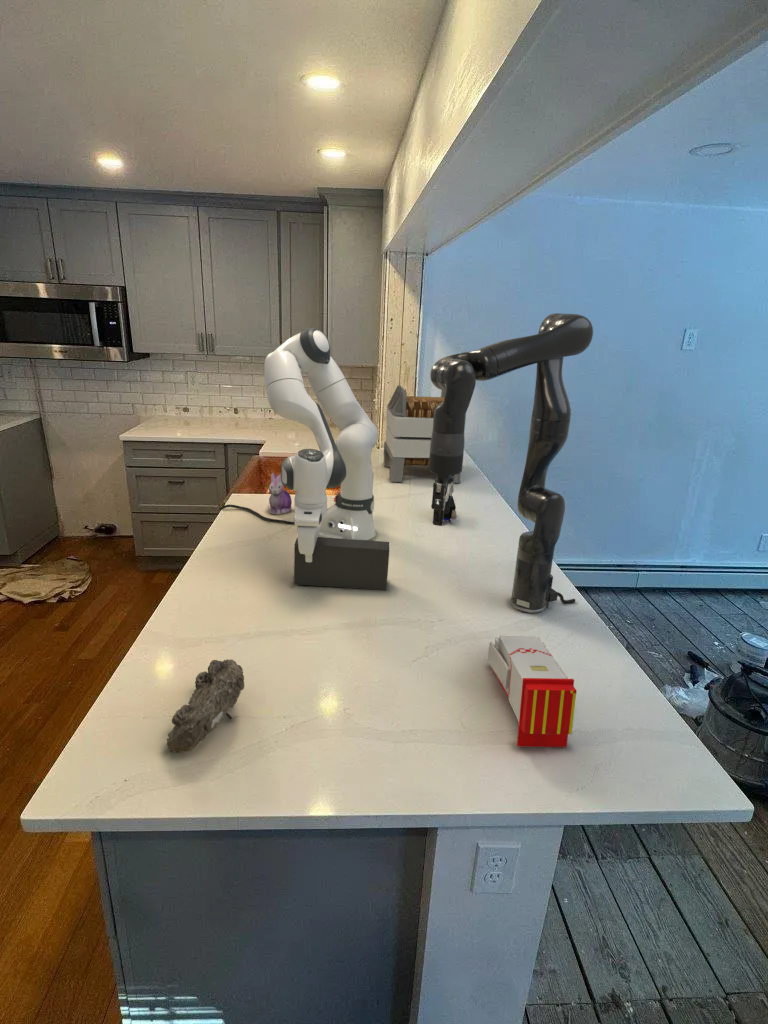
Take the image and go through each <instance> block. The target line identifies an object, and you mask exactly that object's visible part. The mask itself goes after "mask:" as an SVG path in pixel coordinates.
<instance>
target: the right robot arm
mask: <svg viewBox="0 0 768 1024" xmlns="http://www.w3.org/2000/svg"><path fill="white" fill-rule="evenodd" d="M593 337H594V327H593V323H592V322H591V320H590V319H589V318H587V316H585V315H582V314H578V313H564V312H563V313H562V312H561V313H560V312H558V313H557V312H556V313H550V314H549V315H546V317H545V318H544V319H543V320H542V321H541V324H540V325H539V329H538V333H536V334H531V335H526V336H521V337H515V338H509V339H504V340H501V341H497V342H494V343H492V344H488V345H485V346H483V347H480V348H479V349H475V350H470V351H465V352H460V353H455V354H454V353H453V354H450V355H446V356H444V357H441V358H439V359H438V360H437V361H435V362H434V364H433V366H432V367H431V369H430V374H429V375H430V377H429V378H430V382H431V383H432V384H433V386H434V387H435V388H437V390H441V391H442V390H443V391H446V394H445V398H444V402H443V403H440V404H438V405H437V406H436V407H435V410H434V417H433V430H432V436H431V442H430V457H429V465H428V470H429V472H430V473H433V474H435V475H437V476H436V479H434V482H433V484H432V499H431V510H433V515H432V525H434V526H437V527H438V526H439V527H442V526H443V524H444V523H443V521H444V520H443V517H444V514H448V513H449V510H450V499H449V498H451V497H452V496H453V493H454V485H455V483H454V475H457V474H459V473H462V472H463V464H464V453H465V444H466V443H465V430H466V418H467V412H468V409H469V407H470V404H471V401H472V398H473V395H474V392H475V389H476V384H477V381H480V382H484V381H489V380H493V379H495V378H498V377H501V376H503V375H506V374H508V373H511V372H514V371H517V370H520V369H522V368H525V367H528V366H532V365H534V364H536V376H535V377H536V378H535V384H534V385H535V386H534V397H533V405H532V411H531V412H532V413H531V418H530V425H529V426H530V427H529V436H528V444H527V452H526V457H525V464H524V470H523V472H522V473H523V474H522V478H521V481H520V487H519V491H518V496H517V510H518V514H519V515H520V516H521V517H523V519H526V520H528V521H530V522H532V523H534V526H533V530H529V531H525V532H522V533H521V534H520V535H519V538H518V546H517V553H516V561H515V568H514V574H513V575H514V576H513V582H512V590H511V597H510V605H511V606H512V607H513V608H514V609H516V610H518V611H520V612H522V613H523V612H524V613H527V614H538V613H542V612H544V611H545V610H546V609H548V608H549V606H550V602H551V603H552V602H557V601H558V597H559V600H560V602H561V604H565V605H566V604H567V605H568V604H572V603H576V598H571V599H565V598H564V595H563V594H562V593H561V592H558V591H556V590H555V589H553V588H552V587H553V580H554V576H553V575H552V574H551V572H552V567H553V561H554V554H555V547H556V544H557V543H558V541H559V538H560V535H561V530H562V526H563V523H564V522H563V521H564V517H565V511H566V502H565V498H564V496H563V495H562V494H560V493H558V492H556V491H554V490H551V489H549V488H547V487H546V480H547V473H548V470H549V467H550V465H551V463H552V462H553V460H554V459H555V458H556V457H557V455H558V454H559V453H560V452H561V450H562V449H563V448H564V446H565V444H566V443H567V440H568V437H569V433H570V424H571V419H572V408H571V403H570V400H569V397H568V393H567V390H566V386H565V384H564V378H563V364H564V358H567V357H574V356H578V355H580V354H582V353H583V352H585V351H586V350H587V349H588V347H589V346H590V345H591V343H592V340H593ZM438 500H440V501H441V502H440V504H439V503H438V502H439V501H438Z"/></svg>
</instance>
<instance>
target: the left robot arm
mask: <svg viewBox="0 0 768 1024" xmlns="http://www.w3.org/2000/svg"><path fill="white" fill-rule="evenodd" d="M330 344H331V343H330V341H329V339H328V337H327V335H326V334H325V333H324V332H323V331H322V330H321V329H319V328H317V327H308V328H305V329H303V330H301V331H300V332H298V333H296V334H295V335H293V336H291V337H290V338H288V339H286V340H285V342H283V343H281V344H280V345H279V346H278V347H277V348H275V349H273V350H272V351H271V352H270V353H269V354H268V355H266V357H265V359H264V364H263V365H264V366H263V367H264V369H263V371H264V372H263V373H264V374H263V375H264V386H265V391H266V398H267V401H268V404H269V407H270V408H271V410H272V411H273V412H274V413H275V414H276V415H278V416H280V417H282V418H284V419H286V420H290V421H293V422H297V423H299V424H301V425H304V426H306V427H307V428H308V429H310V430H311V432H312V434H313V436H314V438H315V441H316V445H317V446H318V449H319V450H318V449H314V448H303V449H301V450H299V451H297V452H296V454H294V455H290V456H286V458H284V460H282V462H281V464H280V473H281V482H282V484H283V486H284V487H286V488H287V489H289V490H290V491H294V492H295V493H294V494H295V495H294V499H293V501H294V502H293V503H294V504H293V505H294V507H293V508H294V521H289V520H285V519H275V518H269V517H266V516H264V515H262V514H260V513H259V512H257V511H255V510H253V509H251V508H249V507H246V506H242V505H241V506H240V505H236V504H225V505H223V506H221V507H220V508H219V511H222V510H224V509H226V508H234V509H239V510H243V511H244V510H245V511H247V512H249V513H252V514H254V515H255V516H257V517H258V518H259V519H262V520H263V521H268V522H271V523H281V524H287V525H294V526H295V527H296V536H297V537H298V548H299V552H300V554H305V561H306V562H312V559H313V551H314V548H315V545H316V542H317V538H318V537H323V538H338V539H354V540H369V541H370V540H372V539H373V538H375V537H376V535H377V532H376V528H375V523H374V513H373V512H374V509H375V496H374V471H373V464H372V451H373V448H375V447H376V445H377V443H378V441H379V429H378V427H377V425H376V424H375V423H374V422H373V421H372V420H371V418H370V417H369V416H368V414H367V413H366V411H365V410H364V409H363V407H362V406H361V404H360V403H359V401H358V400H357V398H356V396H355V395H354V392H353V390H352V389H351V387H350V385H349V383H348V381H347V378H346V377H345V375H344V373H343V372H342V370H341V369H340V367H339V365H338V364H337V362H336V361H335V360H334V358H333V357H332V356H331V345H330ZM303 375H305V376H306V377H307V380H308V383H309V385H310V387H311V389H312V391H313V393H314V395H315V397H316V400H317V401H318V402H316V401H314V400H313V399H312V397H311V396H310V395H309V393H308V392H307V390H306V387H305V383H304V379H303ZM326 417H327V418H328V419H329V420H331V421H332V422H333V424H334V425H335V426H336V427H337V429H338V431H340V432H339V434H338V436H337V439H336V441H335V439H334V436H333V434H332V430H331V428H330V427H329V424H328V421H327V418H326ZM339 487H340V490H339V491H338V492H337V494H336V495H335V496H334V497H333V502H334V504H333V505H331V506H329V507H328V496H327V489H337V488H339ZM297 537H296V538H297Z"/></svg>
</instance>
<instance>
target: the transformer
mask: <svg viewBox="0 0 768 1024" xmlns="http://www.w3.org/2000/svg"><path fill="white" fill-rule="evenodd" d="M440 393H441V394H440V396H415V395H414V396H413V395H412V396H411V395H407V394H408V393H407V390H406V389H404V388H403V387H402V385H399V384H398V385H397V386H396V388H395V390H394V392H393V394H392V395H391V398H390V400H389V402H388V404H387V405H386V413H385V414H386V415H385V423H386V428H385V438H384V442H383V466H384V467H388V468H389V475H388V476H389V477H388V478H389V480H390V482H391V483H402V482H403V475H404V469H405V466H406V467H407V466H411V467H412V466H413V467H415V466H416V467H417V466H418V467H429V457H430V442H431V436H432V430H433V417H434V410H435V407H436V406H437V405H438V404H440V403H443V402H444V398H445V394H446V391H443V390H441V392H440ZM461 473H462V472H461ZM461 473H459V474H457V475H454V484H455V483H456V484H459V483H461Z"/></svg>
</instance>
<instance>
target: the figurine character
mask: <svg viewBox="0 0 768 1024" xmlns="http://www.w3.org/2000/svg"><path fill="white" fill-rule="evenodd" d="M449 499H450V510H449V513H448V514H444V517H443V524H444V522H447V521H448V523H449V524H452V520H453V521H454V520H455V521H456V518H457V510H456V509H457V507H456V503H455V500H454V495H452V497H451V498H449ZM437 502H438V504H440V502H441V501H440V500H438V501H437Z"/></svg>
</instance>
